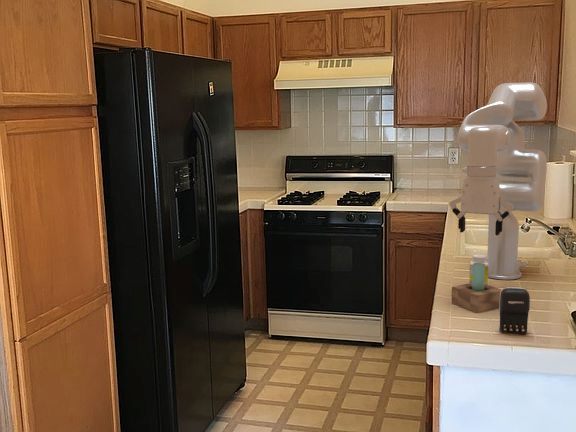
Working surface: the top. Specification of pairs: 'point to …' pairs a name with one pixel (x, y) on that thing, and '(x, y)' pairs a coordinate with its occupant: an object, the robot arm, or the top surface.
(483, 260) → the supplement bottle
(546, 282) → the top surface
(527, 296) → the battery charger
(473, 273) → the dowel
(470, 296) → the socket block
